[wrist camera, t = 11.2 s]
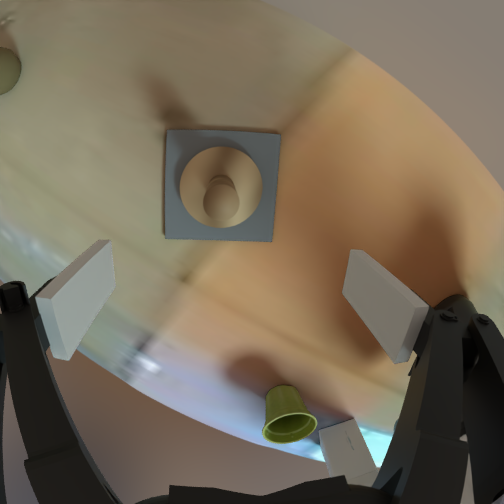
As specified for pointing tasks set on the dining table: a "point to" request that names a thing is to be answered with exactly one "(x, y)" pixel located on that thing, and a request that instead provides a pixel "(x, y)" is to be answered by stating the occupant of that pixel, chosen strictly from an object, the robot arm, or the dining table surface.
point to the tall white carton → (347, 453)
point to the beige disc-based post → (221, 187)
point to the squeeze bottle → (8, 70)
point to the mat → (195, 141)
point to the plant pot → (286, 416)
